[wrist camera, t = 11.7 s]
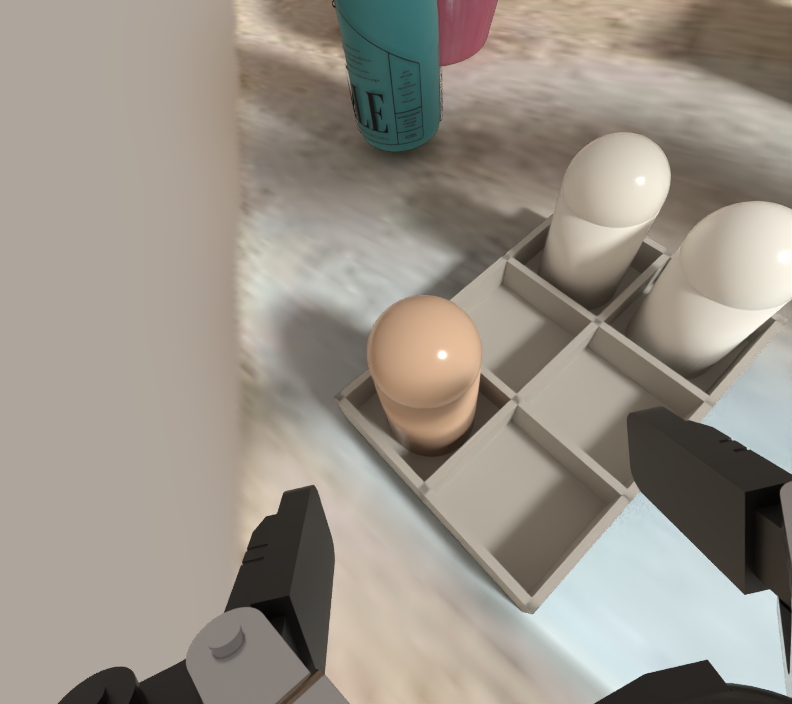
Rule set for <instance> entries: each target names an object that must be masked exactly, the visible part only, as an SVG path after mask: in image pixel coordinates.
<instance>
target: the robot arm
mask: <svg viewBox="0 0 792 704" xmlns="http://www.w3.org/2000/svg"><path fill="white" fill-rule="evenodd" d="M627 433H628V445H629V458H630V469H631V473H632V476H633V479H634V481H635V483H636V485H637V487H638V488H639V490H640V491H641V492H642V493H643V494H644V495H645V496H646V497H647V498H648V499H649V500H650V501H651V502H652V503H653V504H654V505H655V506H656V507H657V508H658V509H659V510H660V511H661V512H662V513H663V514H664V515H665V516H666V517H667V518H668V519H669V520H670V521H671V522H672V523H673V524H674V525H675V526H676V527H677V528H678V529H679V530H680V531H681V532H682V533H683V534H684V535H685V536H686V537H687V538H688V539H689V540H690V541H691V542H692V543H693V544H694V545H695V546H696V547H697V548H698V549H699V550H700V551H701V552H702V553H703V554H704V555H705V556H706V557H707V558H708V559H709V560H710V561H711V562H712V563H713V564H714V565H715V566H716V567H717V568H718V569H719V570H720V571H721V572H722V573H723V574H724V575H725V576H726V577H727V578H728V579H729V580H730V581H731V582H732V583H733V584H734V585H735V586H736V587H737V588H738V589H739V590H740V591H741V592H742V593H743V594H744V595H746V594H750V593H755V592H759V591H763V590H768V589H770V590H771V591H773V592H774V593H775V594H776V595H777V616H778V625H779V633H780V642H781V650H782V659H783V667H784V675H785V684H786V693H787V696H785V695H782V694H779V693H776V692H773V691H769V690H765V689H761V688H757V687H753V686H747V685H741V684H734V683H725V682H724V680H723V679H722V678H721V676H720V675H719V674H718V673H717V671H716V670H715V669H714V667H713V666H712V665H711V664H710V662H709V661H708V660H704V661H699V662H695V663H691V664H686V665H682V666H678V667H673V668H669V669H665V670H660V671H656V672H652V673H647V674H644V675H642V676H641V677H639V678H637V679H636V680H634V681H632V682H630V683H629V684H627V685H625V686H624V687H622V688H620V689H618V690H617V691H615V692H613V693H612V694H610V695H608V696H606V697H605V698H603V699H601V700H600V701H598V702H596V703H595V704H792V474H790V473H788V472H787V471H785V470H783V469H782V468H780V467H778V466H777V465H775V464H773V463H772V462H770V461H768V460H767V459H765V458H763V457H762V456H760V455H758V454H757V453H755V452H753V451H752V450H747V448H746V447H745V446H743V445H742V444H740V443H738V442H737V441H735V440H734V441H732V440H731V438H730V437H728V436H727V435H725V434H723V433H722V432H720V431H718V430H717V429H715V428H713V427H710V426H707V425H704V424H701V423H697V422H694V421H691V420H687V421H685V420H684V419H682V418H681V417H679V416H677V415H676V414H674V413H673V412H671V411H669V410H668V409H666V408H665V407H662V406H657V407H653V408H649V409H644V410H640V411H636V412H631V413H629V414H628V416H627ZM242 563H243V565H241V567H240V570H239V572H238V575H237V578H236V581H235V584H234V586H233V589H232V592H231V595H230V597H229V600H228V603H227V606H226V609H225V611H224V613H223V614H221V615H220V616H218V617H216V618H215V619H213V620H212V621H211V622H210V623H208V624H207V625H206V626H205V627H204V628H203V629H202V630H201V631H200V632H199V633H198V634H197V636H196V637H195V639H194V640H193V641H192V643H191V645H190V647H189V649H188V652H187V657H186V659H185V660H183V661H181V662H179V663H178V664H176V665H174V666H172V667H170V668H168V669H166V670H164V671H162V672H160V673H158V674H156V675H154V676H152V677H150V678H148V679H146V680H144V681H142V682H140V683H139V682H138V680H137V678H136V676H135V674H134V673H133V671H132V670H131V669H129V668H126V667H113V668H109V669H106V670H103V671H100V672H99V673H96V674H94V675H92V676H91V677H89V678H87V679H86V680H84V681H83V682H81V683H80V684H79V685H77V686H76V687H75V688H74V689H72V690H71V691H70V692H69V693H68V694H67V695H66V696H65V697H63V699H62V700H61V701H60V702H59V703H58V704H349V702H348V701H347V700H346V699H345V698H344V696H343V695H342V694H341V693H340V692H339V690H338V689H337V688H336V687H335V686H334V685H333V683H332V682H331V681H330V680H329V679H328V677H327V676H326V675H325V665H326V654H327V642H328V631H329V620H330V609H331V598H332V586H333V575H334V564H335V554H334V546H333V540H332V536H331V533H330V529H329V526H328V523H327V520H326V516H325V513H324V510H323V507H322V504H321V500H320V497H319V494H318V491H317V489H316V487H315V486H314V485H310V486H306V487H302V488H297V489H293V490H289V491H285V492H284V493H283V496H282V499H281V502H280V506H279V509H278V512H277V514H275V515H270V516H266V517H265V518H264V520H263V521H262V522H261V523H260V524H259V526H258V527H257V528H256V529H255V530H254V532H253V533H252V536H251V539H250V542H249V545H248V547H247V552H246V553H245V556H244V558H243V561H242Z"/></svg>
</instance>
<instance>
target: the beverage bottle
mask: <svg viewBox="0 0 792 704" xmlns="http://www.w3.org/2000/svg"><path fill="white" fill-rule="evenodd" d="M333 2H334V3H335V6H334V5H333ZM332 5H333V7H335V8H336V12H337V17H338V22H339V27H340V32H341V37H342V42H343V46H342V47H344V49H343V50H344V52H345V57H346V63H347V66H346V68H347V70H348V73H349V78H350V83H351V88H352V97H353V101H352V104H353V109H354V103H355V108H356V109H354V113H355V110H356V113H357V115H356V113H355V117H356V119H357V118H358V119H357V120H358V123H359V128H360V131H361V132H360V133H361V134H362V135H363V137H364V138H365V140H366V141H367V142H368V143H369V144H370V145H372V146H374V147H376V148H378V149H381V150H385V151H405V150H410V149H413V148H416V147H419V146H421V145H423V144H424V143H426V142H427V141H429V140H430V139H431V138H432V137H433V136H434V135H435V133H436V131H437V129H438V126H439V123H440V121H441V120H442V119H441V120H440V118H441V111H442V110H443V109H441V107H443V105H440V104H441V103H440V88H441V87H440V72H441V64H442V62H441V64H440V67H439V43H440V41H439V29H440V19H439V28H438V8H439V7H438V8H437V5H438V3H437V0H333V1H332ZM439 13H440V11H439ZM440 18H441V17H440ZM440 36H441V34H440ZM441 49H442V48H441ZM441 52H442V50H441ZM441 58H442V57H441ZM441 76H442V75H441ZM347 80H348V79H347ZM441 80H442V78H441ZM348 85H349V83H348ZM441 85H442V84H441ZM349 90H350V88H349ZM441 92H442V91H441ZM350 95H351V92H350ZM441 96H442V98H443V95H442V94H441ZM352 97H351V100H352ZM442 98H441V99H442ZM442 103H443V99H442ZM442 116H443V115H442ZM356 123H357V121H356ZM357 128H358V127H357ZM358 130H359V129H358Z"/></svg>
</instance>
